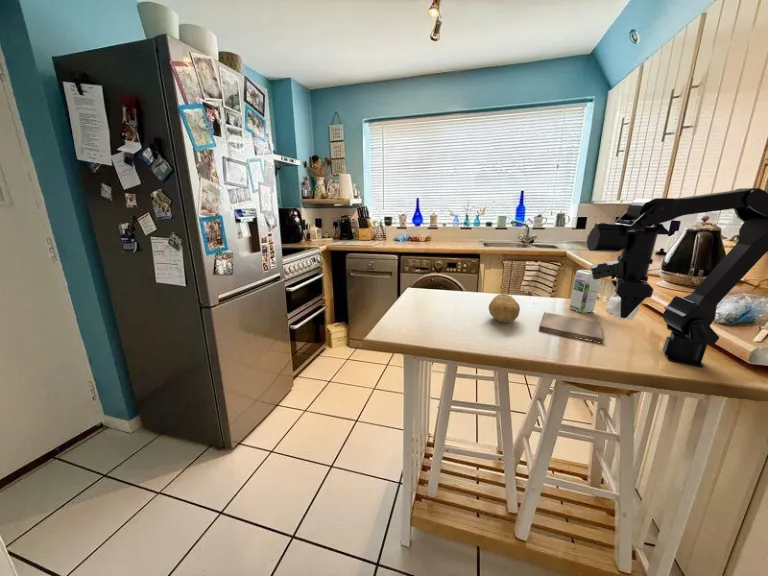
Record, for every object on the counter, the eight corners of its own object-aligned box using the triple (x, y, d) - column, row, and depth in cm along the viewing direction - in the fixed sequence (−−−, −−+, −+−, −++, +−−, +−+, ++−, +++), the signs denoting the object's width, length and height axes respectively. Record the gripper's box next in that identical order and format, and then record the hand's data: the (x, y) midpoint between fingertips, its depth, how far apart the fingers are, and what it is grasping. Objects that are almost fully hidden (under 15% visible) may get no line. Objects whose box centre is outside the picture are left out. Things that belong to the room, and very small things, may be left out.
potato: (487, 326, 96) (489, 302, 94) (487, 311, 109) (490, 290, 106) (520, 331, 93) (524, 306, 91) (517, 315, 106) (520, 293, 103)
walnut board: (599, 326, 97) (600, 322, 97) (601, 343, 86) (602, 338, 85) (543, 316, 105) (544, 312, 105) (538, 330, 94) (539, 325, 93)
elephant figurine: (595, 313, 81) (600, 291, 79) (626, 313, 81) (631, 292, 79) (614, 323, 75) (619, 300, 73) (647, 323, 74) (653, 300, 73)
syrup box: (568, 308, 113) (575, 270, 109) (580, 307, 114) (588, 269, 110) (581, 314, 107) (589, 274, 103) (594, 312, 109) (603, 273, 105)
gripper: (595, 245, 85) (583, 298, 89) (598, 255, 69) (584, 318, 74) (646, 248, 79) (631, 305, 83) (662, 260, 64) (643, 329, 68)
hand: (621, 313), depth 77 cm, fingers closed on elephant figurine, 6 cm apart
